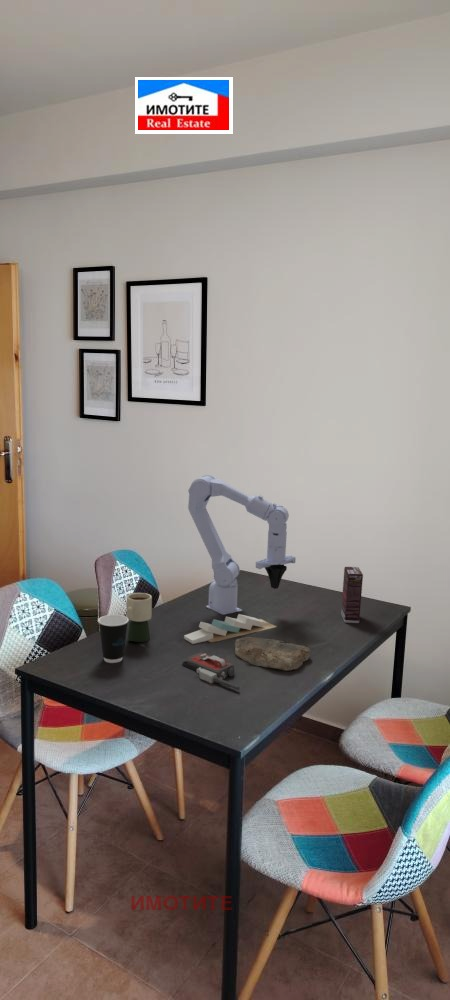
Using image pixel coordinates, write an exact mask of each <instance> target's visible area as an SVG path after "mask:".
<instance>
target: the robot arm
mask: <svg viewBox="0 0 450 1000" xmlns="http://www.w3.org/2000/svg"><path fill="white" fill-rule="evenodd" d="M219 496H222V497H225V498H227V499H229V500H231V501H233V502H236V503H237V504H240V505H242V506H244V507H245V508H246V512H247V513H249V514H251V515H253V516H256V517H257V518H258V519H261V520H263V521H266V522H267V524H268V532H267V547H266V548H267V550H266V551H267V552H266V553H267V554H266V558H264V559H260V560H258V561H255V568H256V569H258V570H262V569H265V571H266V573H267V576H268V579H269V584H270V588H272V589H274V590H275V589H276V590H277V589H279V587H280V583H281V580H282V578H283V576H284V574H285V572H286V571H287V570H288V569H287V568H288V567H287V564H296V558H297V557H296V556H292V555H288V556H286V554H287V553H286V552H287V551H286V550H287V549H286V547H287V534H288V533H287V532H288V531H287V527H288V526H287V521H289V517H290V516H289V511H288V509H286V508H285V507H284V506H283V505H278V504H277V503H275V502H274V503H272V502H270V501H268V500H267V499H264V496H262V494H261V495H256V494H255V495H252V496H249V495H248V494H246V493H244V492H242V491H241V490H239V489H237V488H235V487H234V486H232V485H230V484H229V483H227V482H225V481H223V480H222V479H220V478H217V477H214V476H213V475H210V474H205V475H203V476H201V477H200V478H196V479H194V480H193V481H192V483H190V486H189V488H188V504H187V505H188V506H187V508H188V513H189V514H190V516H191V518H192V520H193V523H194V525H195V527H196V528H197V529H196V530H197V531H198V533H199V535H200V538H201V539H202V542H203V544H204V546H205V548H206V550H207V552H208V555H209V556H210V558H211V568H212V570H213V579H214V580H213V581H212V582H211V583H210V585H209V588H208V605H206V606H205V607H206V608H207V609H211V610H212V611H215V612H216V613H218V614H221V615H227V614H228V615H229V614H233V613H236V612H242V611H243V609H241V608H239V607H238V587H239V586H238V580H237V577H238V576H239V574H240V566H239V564H238V563H237V561H235V560H234V559H233V557H232V556H231V554H230V553H228V552H227V550H226V548H225V546H224V544H223V541H222V540H221V538H220V535H219V533H218V531H217V529H216V527H215V525H214V523H213V521H212V519H211V517H210V514H209V511H208V509H207V505H208V503H209V501H210V498H212V497H219Z"/></svg>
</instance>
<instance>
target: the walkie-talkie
mask: <svg viewBox="0 0 450 1000" xmlns="http://www.w3.org/2000/svg"><path fill="white" fill-rule="evenodd" d="M181 665H182V666H183V667H186V668H188V669H190V670H193V671H195V672H196V673H197V674H198V677H199V679H201V680H202V681H206V682H207V683H209V684H214V683H218V684H221V685H222V686H225V687H228V688H233V689H235V690H238V691H239V690H240V686H239V685H236V684H233V683H231V682H228V681H227V680H224V679H226V678H228V677H232V676H234V674H235V665H234V664H232V663H230V662H227V661H226V659H225V658H222V657H219V656H216V655H214V654H213V655H209V654H207V653H203V652H198V653H195V654H192V655H190V656H188V657H186V661H182V664H181Z"/></svg>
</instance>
